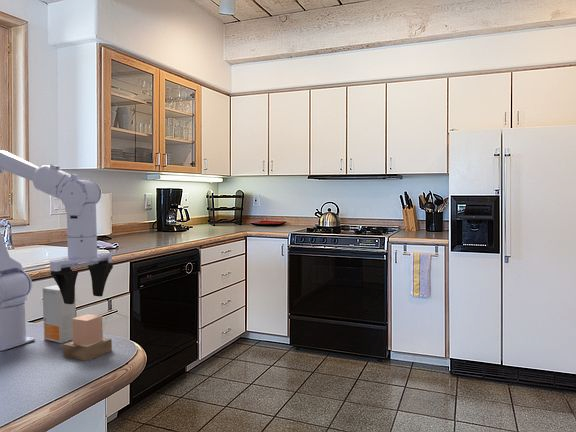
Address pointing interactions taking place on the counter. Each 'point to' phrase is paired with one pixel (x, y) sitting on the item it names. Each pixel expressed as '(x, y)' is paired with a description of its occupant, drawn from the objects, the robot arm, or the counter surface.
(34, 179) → the robot arm
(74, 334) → the terracotta block
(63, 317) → the skincare box
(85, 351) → the walnut foundation
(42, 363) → the counter surface
